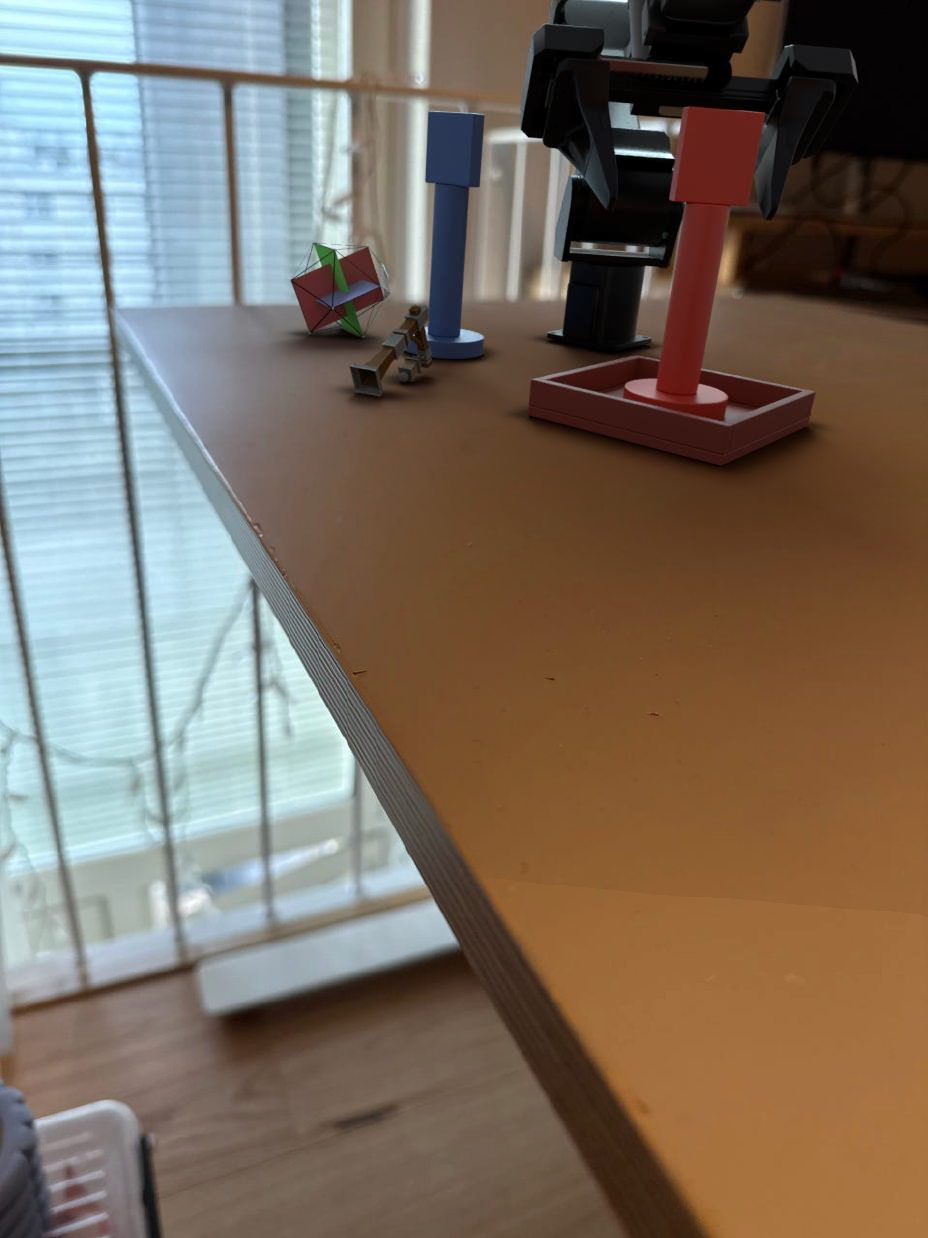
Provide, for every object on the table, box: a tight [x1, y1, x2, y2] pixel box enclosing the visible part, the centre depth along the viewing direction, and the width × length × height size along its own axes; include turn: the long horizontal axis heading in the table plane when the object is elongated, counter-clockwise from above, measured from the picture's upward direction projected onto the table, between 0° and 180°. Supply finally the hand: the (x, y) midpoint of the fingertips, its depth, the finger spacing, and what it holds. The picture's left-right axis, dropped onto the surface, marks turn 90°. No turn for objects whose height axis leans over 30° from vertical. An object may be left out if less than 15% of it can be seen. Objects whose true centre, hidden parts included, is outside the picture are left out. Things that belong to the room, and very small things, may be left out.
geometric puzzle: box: [289, 241, 391, 338], centre depth 71 cm, size 7×7×8 cm
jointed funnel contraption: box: [348, 303, 433, 397], centre depth 58 cm, size 2×8×4 cm, turn 154°
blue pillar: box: [404, 110, 485, 360], centre depth 65 cm, size 6×6×16 cm
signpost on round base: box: [623, 107, 765, 421], centre depth 51 cm, size 6×6×16 cm
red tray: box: [527, 354, 817, 467], centre depth 54 cm, size 12×12×2 cm
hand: (692, 209), depth 52 cm, fingers open, 9 cm apart
